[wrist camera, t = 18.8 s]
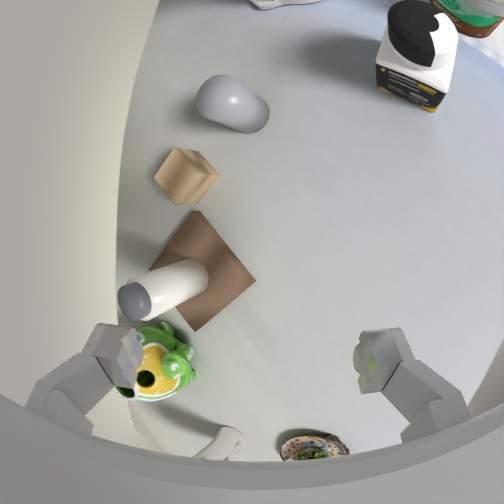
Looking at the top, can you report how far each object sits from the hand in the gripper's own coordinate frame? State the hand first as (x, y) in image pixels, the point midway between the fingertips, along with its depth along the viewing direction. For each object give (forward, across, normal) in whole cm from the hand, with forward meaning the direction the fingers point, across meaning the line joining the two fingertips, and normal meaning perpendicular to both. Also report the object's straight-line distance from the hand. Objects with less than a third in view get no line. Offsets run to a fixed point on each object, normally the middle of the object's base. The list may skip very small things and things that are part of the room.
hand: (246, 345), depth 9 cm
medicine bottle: (+24, -18, -13) cm, 32 cm away
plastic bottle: (+24, +8, +15) cm, 30 cm away
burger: (+8, -11, +40) cm, 43 cm away
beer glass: (+13, +4, +45) cm, 47 cm away
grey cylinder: (+29, +1, -6) cm, 30 cm away
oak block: (+30, +8, +2) cm, 31 cm away
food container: (+24, -25, -24) cm, 42 cm away
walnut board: (+25, +8, +15) cm, 31 cm away
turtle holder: (+23, +14, +30) cm, 40 cm away
